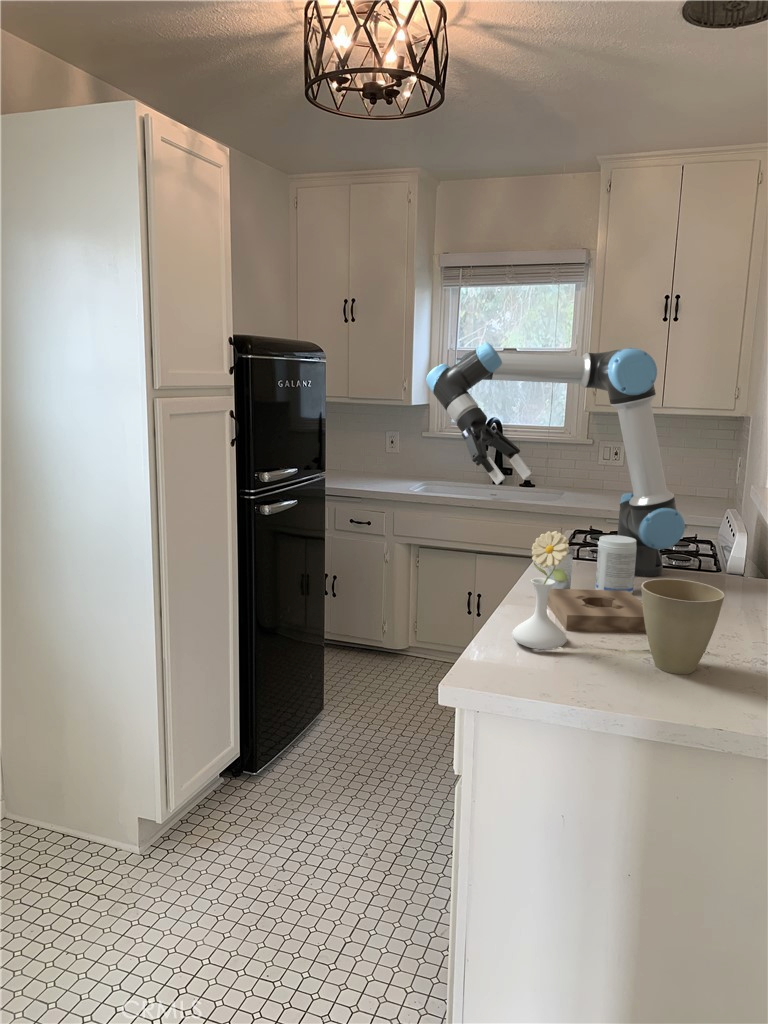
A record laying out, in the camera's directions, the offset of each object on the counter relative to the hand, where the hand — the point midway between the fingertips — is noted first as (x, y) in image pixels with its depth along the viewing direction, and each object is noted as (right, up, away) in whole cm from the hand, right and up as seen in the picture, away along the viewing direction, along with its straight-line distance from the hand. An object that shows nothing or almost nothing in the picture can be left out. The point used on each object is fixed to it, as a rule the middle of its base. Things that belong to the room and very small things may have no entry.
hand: (514, 478), depth 187 cm
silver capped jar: (+11, -30, +2) cm, 32 cm away
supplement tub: (+27, -30, +8) cm, 41 cm away
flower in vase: (0, -37, -32) cm, 49 cm away
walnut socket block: (+17, -34, -15) cm, 41 cm away
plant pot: (+24, -39, -42) cm, 62 cm away
